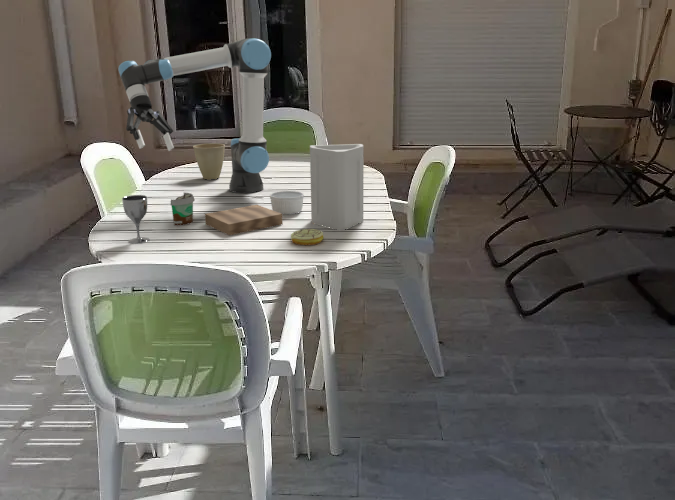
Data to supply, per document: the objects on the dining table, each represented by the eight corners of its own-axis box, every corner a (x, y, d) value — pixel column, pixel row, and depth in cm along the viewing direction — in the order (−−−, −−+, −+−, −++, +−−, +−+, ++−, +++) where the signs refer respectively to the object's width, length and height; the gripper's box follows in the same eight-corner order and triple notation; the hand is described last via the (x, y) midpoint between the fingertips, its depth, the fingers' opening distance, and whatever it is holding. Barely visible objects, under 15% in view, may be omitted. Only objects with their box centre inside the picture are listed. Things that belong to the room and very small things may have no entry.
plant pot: (233, 177, 329) (231, 144, 324) (212, 182, 317) (210, 149, 312) (210, 174, 336) (208, 142, 331) (189, 179, 324) (186, 146, 320)
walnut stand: (257, 214, 261) (256, 204, 260) (282, 224, 247) (282, 213, 246) (205, 224, 248) (204, 213, 247) (229, 235, 235) (228, 224, 233)
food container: (188, 227, 245) (186, 200, 242) (172, 226, 246) (170, 199, 243) (201, 218, 256) (199, 192, 253) (186, 217, 258) (184, 192, 254)
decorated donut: (298, 236, 233) (298, 226, 232) (327, 239, 230) (327, 228, 229) (286, 245, 224) (286, 234, 223) (317, 247, 221) (316, 236, 220)
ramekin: (289, 205, 274) (288, 188, 272) (311, 211, 265) (310, 193, 263) (263, 211, 266) (263, 194, 263) (285, 217, 257) (284, 199, 254)
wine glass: (138, 245, 224) (133, 201, 220) (121, 241, 228) (116, 198, 224) (156, 239, 231) (151, 196, 226) (139, 236, 235) (135, 193, 230)
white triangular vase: (314, 231, 239) (312, 152, 230) (311, 220, 253) (309, 145, 244) (367, 229, 241) (368, 150, 232) (361, 218, 255) (361, 144, 246)
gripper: (159, 108, 270) (177, 154, 266) (105, 100, 250) (123, 151, 245) (170, 98, 266) (188, 145, 261) (116, 89, 246) (135, 140, 241)
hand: (157, 148), depth 253 cm, fingers open, 13 cm apart
